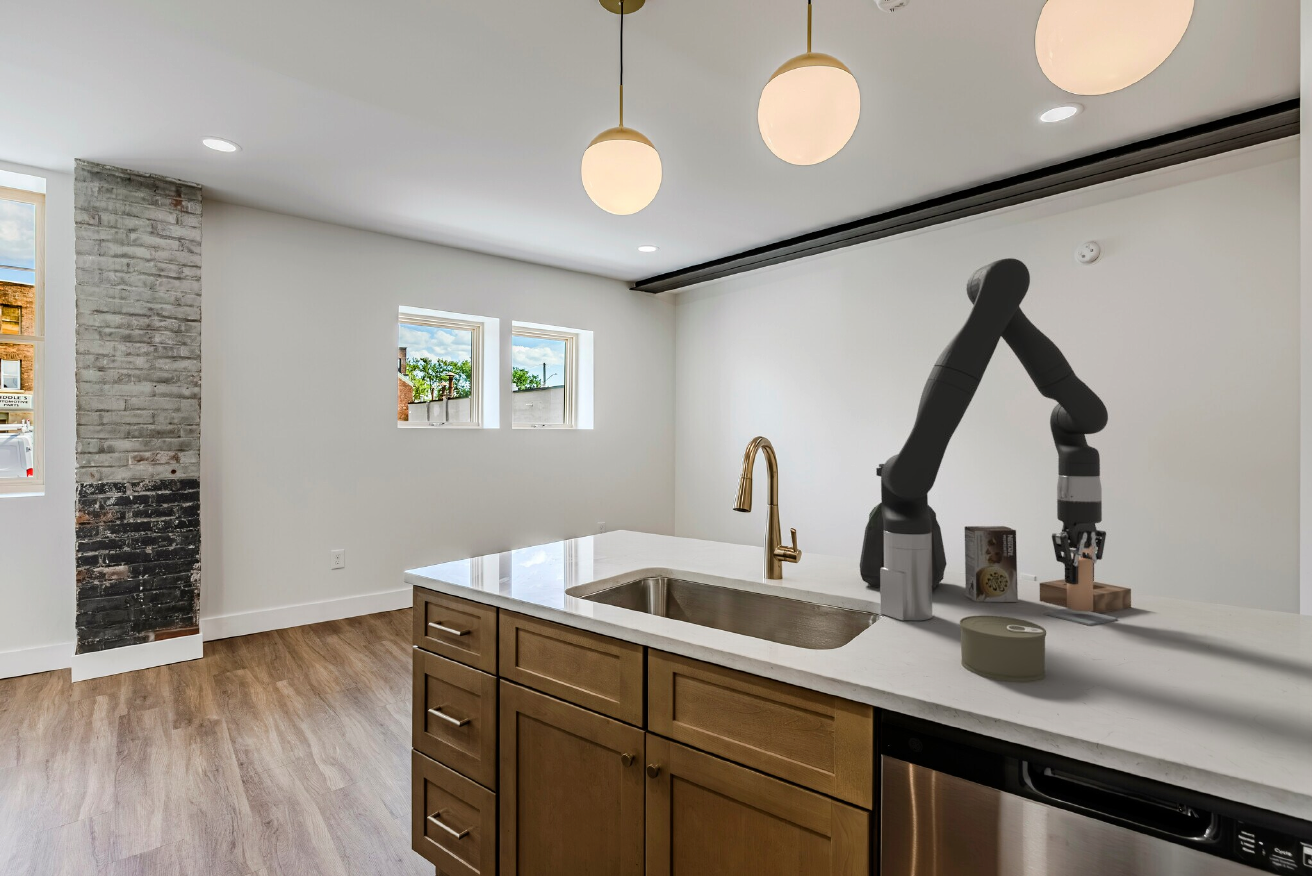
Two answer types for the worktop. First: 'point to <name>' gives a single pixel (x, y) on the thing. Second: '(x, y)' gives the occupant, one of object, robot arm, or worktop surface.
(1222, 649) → the worktop surface
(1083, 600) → the peach orange cylinder
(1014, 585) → the coffee box
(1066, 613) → the rubber mat
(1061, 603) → the bore block
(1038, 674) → the can
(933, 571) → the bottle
